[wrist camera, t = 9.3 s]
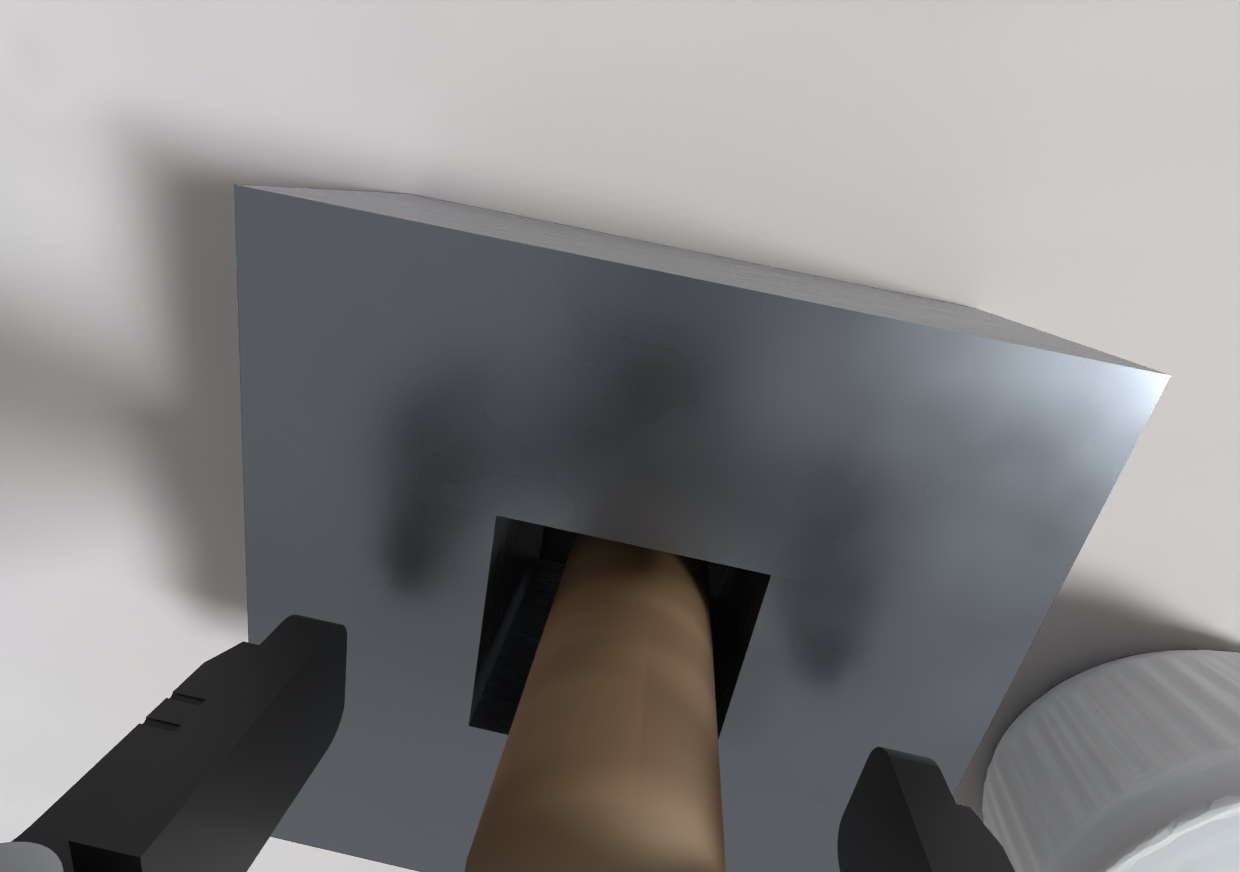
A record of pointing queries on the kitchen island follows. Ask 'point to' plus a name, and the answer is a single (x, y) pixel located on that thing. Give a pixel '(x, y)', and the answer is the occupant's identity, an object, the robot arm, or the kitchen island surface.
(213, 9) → the kitchen island surface
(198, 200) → the kitchen island surface
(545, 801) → the walnut peg
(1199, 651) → the ramekin
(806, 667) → the hole block
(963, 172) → the kitchen island surface
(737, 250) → the kitchen island surface
